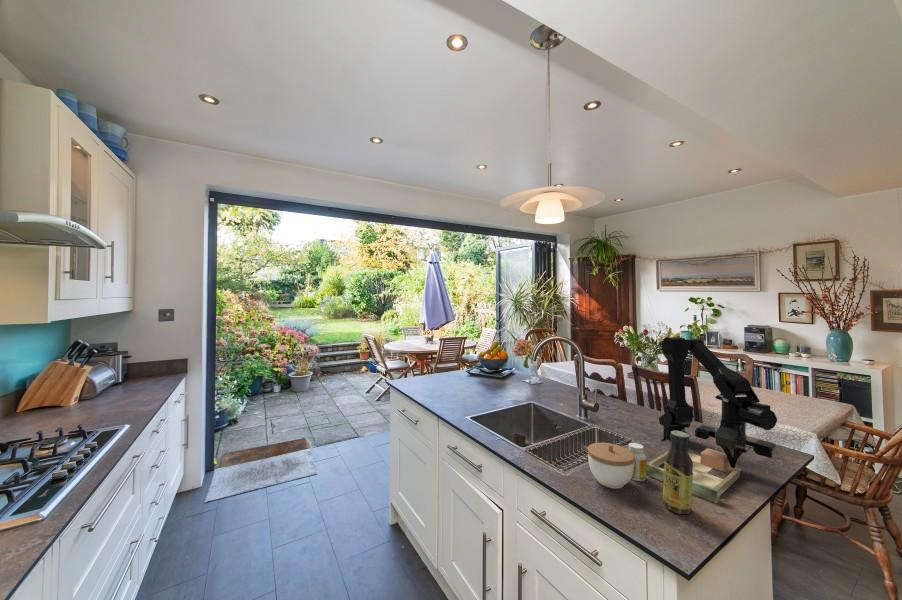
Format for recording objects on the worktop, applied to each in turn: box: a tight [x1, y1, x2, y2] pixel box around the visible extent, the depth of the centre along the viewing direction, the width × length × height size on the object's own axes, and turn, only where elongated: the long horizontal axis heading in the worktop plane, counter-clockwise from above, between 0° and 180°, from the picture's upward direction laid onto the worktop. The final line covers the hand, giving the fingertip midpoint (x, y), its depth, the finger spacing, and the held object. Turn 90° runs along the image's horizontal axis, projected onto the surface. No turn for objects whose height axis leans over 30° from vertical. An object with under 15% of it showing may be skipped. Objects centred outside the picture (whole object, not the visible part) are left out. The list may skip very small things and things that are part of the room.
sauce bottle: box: [662, 431, 693, 515], centre depth 88 cm, size 7×6×20 cm
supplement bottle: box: [628, 442, 647, 482], centre depth 103 cm, size 5×5×10 cm
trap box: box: [646, 450, 742, 504], centre depth 105 cm, size 18×25×3 cm
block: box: [700, 447, 730, 472], centre depth 108 cm, size 6×6×4 cm
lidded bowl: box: [587, 442, 635, 490], centre depth 101 cm, size 13×13×11 cm
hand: (733, 467), depth 105 cm, fingers closed
